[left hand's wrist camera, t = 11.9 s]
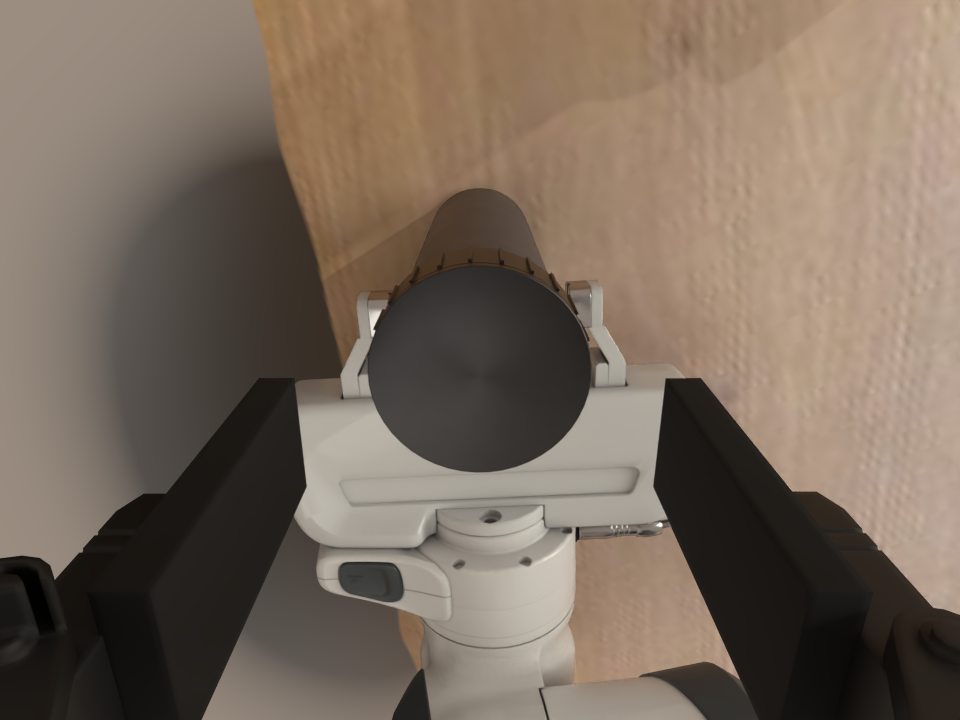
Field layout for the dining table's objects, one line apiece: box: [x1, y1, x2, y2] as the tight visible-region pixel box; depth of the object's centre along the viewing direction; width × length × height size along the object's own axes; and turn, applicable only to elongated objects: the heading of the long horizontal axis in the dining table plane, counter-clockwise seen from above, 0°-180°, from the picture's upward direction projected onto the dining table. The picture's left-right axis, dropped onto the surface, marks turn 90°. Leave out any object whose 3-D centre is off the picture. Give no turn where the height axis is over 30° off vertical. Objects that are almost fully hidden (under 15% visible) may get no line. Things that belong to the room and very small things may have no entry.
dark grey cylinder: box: [413, 188, 547, 272], centre depth 26 cm, size 5×5×18 cm
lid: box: [367, 246, 592, 473], centre depth 18 cm, size 6×6×2 cm
